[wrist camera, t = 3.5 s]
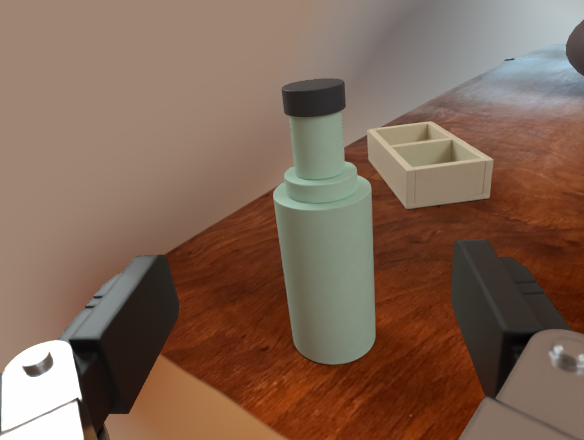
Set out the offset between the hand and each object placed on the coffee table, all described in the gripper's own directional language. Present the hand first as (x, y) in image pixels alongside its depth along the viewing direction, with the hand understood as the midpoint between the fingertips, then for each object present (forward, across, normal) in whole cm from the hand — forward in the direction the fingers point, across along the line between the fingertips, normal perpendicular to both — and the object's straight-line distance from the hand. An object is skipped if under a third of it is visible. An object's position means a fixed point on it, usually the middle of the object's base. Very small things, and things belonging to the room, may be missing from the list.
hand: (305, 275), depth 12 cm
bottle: (+11, 0, +12) cm, 16 cm away
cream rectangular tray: (+37, -9, +12) cm, 40 cm away
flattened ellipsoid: (+71, -52, +12) cm, 89 cm away
